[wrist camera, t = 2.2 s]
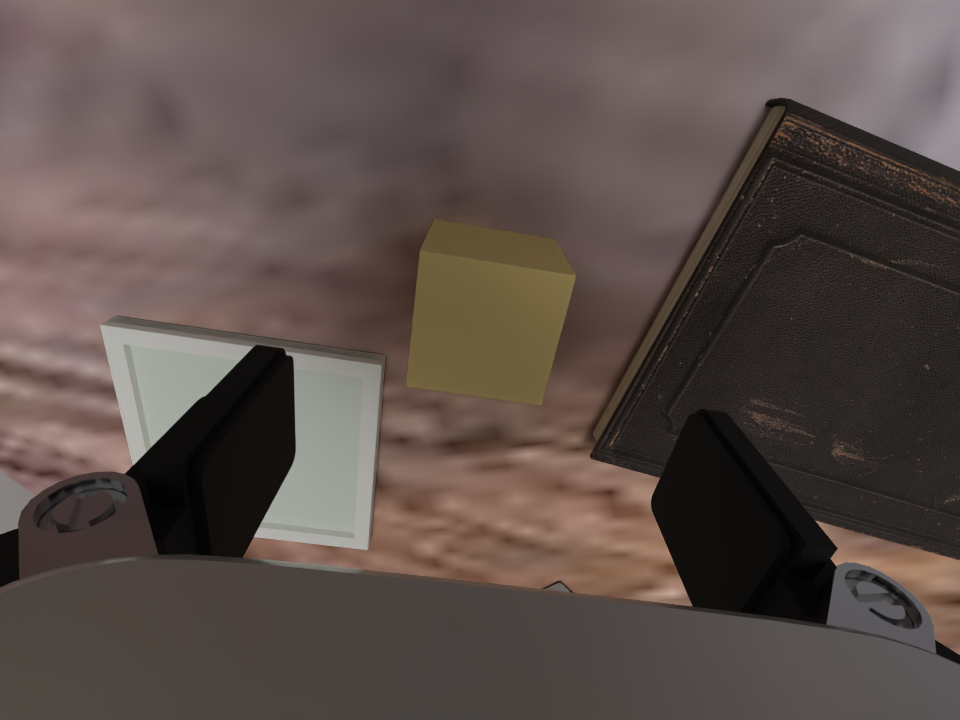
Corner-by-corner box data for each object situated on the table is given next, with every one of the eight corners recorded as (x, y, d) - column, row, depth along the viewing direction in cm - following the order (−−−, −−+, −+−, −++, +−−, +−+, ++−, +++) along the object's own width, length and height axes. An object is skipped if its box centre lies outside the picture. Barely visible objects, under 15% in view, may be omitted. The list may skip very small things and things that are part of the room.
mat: (116, 315, 21) (100, 324, 20) (385, 355, 22) (381, 365, 21) (157, 510, 26) (146, 524, 26) (371, 535, 27) (367, 550, 26)
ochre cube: (434, 218, 19) (419, 250, 15) (554, 238, 19) (576, 275, 15) (421, 329, 21) (405, 386, 17) (529, 345, 22) (541, 405, 17)
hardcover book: (937, 531, 28) (973, 565, 26) (582, 430, 24) (591, 459, 22) (1210, 287, 21) (1289, 306, 19) (761, 98, 17) (798, 96, 15)
